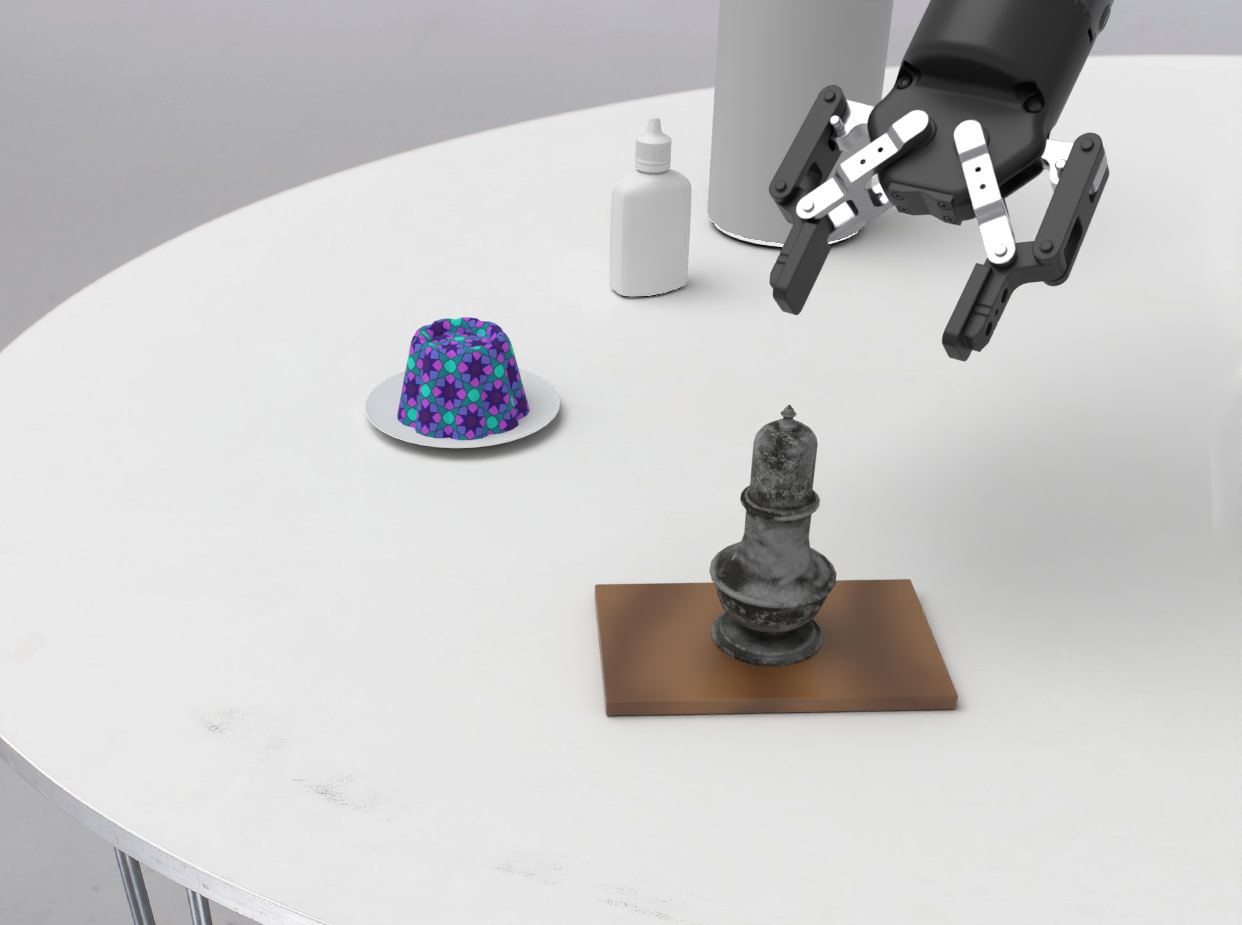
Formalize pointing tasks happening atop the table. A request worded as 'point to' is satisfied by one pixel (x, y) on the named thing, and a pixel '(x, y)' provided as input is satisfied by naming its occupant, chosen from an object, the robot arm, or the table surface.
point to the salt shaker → (774, 555)
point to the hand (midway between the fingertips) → (866, 329)
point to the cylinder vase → (784, 95)
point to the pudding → (461, 390)
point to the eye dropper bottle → (650, 221)
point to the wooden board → (717, 683)
